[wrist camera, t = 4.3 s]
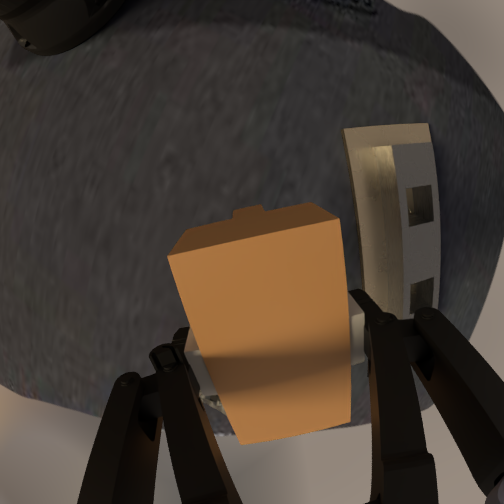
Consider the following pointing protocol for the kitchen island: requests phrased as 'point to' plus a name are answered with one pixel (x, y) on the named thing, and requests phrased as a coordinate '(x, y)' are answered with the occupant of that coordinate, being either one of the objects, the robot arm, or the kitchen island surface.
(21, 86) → the kitchen island surface
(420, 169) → the beige grey stepped block
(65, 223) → the kitchen island surface
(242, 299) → the orange toy brick
